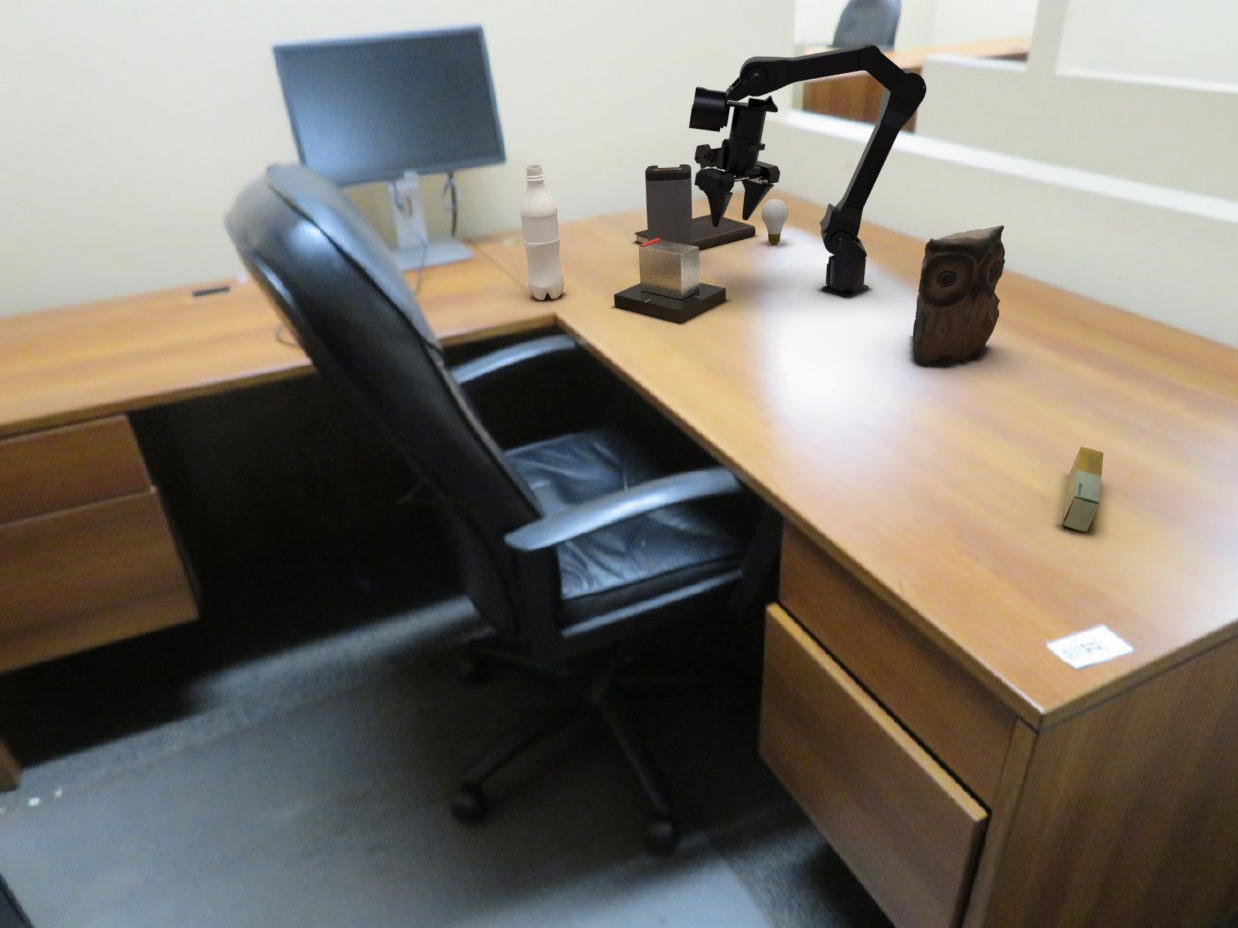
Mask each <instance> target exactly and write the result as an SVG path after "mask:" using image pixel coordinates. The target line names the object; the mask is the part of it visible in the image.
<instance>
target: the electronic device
mask: <svg viewBox="0 0 1238 928" xmlns="http://www.w3.org/2000/svg"><path fill="white" fill-rule="evenodd" d="M644 178H645V179H644V181H645V182H644V183H645V204H646V224H647V227H646V230H648V242H649V241H651V240H654V239H656V238H659V239H661V240H664V241H669V242H675V243H680V244H686V245H691V246H693V237H692V219H693V192H692V191H693V186H692V185H693V184H692V166H691V165H689V164H687V163H680V164H679V166H671V167H659V165H658V164H657V165H655V164H653V165H649V166H647V167H646V168H645V170H644Z"/></svg>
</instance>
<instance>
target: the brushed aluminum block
mask: <svg viewBox="0 0 1238 928" xmlns="http://www.w3.org/2000/svg"><path fill="white" fill-rule="evenodd" d="M638 264H639V283H640V288H641V291H646V292H650V293H654V294H659V295H663V296H667V297H672V298H676V299H680V300H683V299H685V298H687V297H689V296H691V295H693V294H695V293H697V292H699V283H700V250H699V247H697V246H691V245H686V244H680V243H675V242H669V241H664V240H661V239H659V238H656V239H654V240H651V241H649V242H646V243H643V244H639V245H638Z"/></svg>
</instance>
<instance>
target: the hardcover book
mask: <svg viewBox="0 0 1238 928" xmlns="http://www.w3.org/2000/svg"><path fill="white" fill-rule="evenodd" d="M756 230H757V229H756V226H755V225H753V224H749V223H746V222H742V221H738V220H735V219H732V218H729V217H725V216H723V218H722V221H721V223H720V225H719V227H714V226H713V224H712V218H711V213H710V214H705V215H701V216H697V217H692V237H693V246H697V247H699V251H701V250H706V249H708V248H713V247H717V246H721V245H724V244H728V243H733V242H735V241H739V240H743V239H746V238H751V237H754V236H755V235H756V232H757V231H756ZM634 235H635V239H636V240H634V243H635V244H639V245H641V244H643V243H646V242H648V229H643V230H639V231H635V232H634Z"/></svg>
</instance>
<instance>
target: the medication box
mask: <svg viewBox="0 0 1238 928" xmlns="http://www.w3.org/2000/svg"><path fill="white" fill-rule="evenodd" d="M1073 461H1074V462H1073V463H1072V466H1071V468H1070V470H1069V471H1070V472H1069V475H1068V481H1067V487H1066V493H1065V501H1064V507H1063V514H1062V520H1061V521H1062V522H1061V526H1062V527H1065V528H1068V529H1070V530H1073V531H1076V532H1081V533H1087V532H1088V530H1089V528H1090V526H1091V524H1092V521H1093V519H1094V517H1095V515H1096V512H1097V511H1098V508H1099V506H1100V501H1101V489H1102V488H1101V487H1102V475H1103V465H1104V452H1103V451H1100V450H1097V449H1093V448H1090V447H1089V448H1088V447H1085V446H1080V447H1079V449H1078V452H1077V454H1076V456H1075V459H1074V460H1073Z"/></svg>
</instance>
